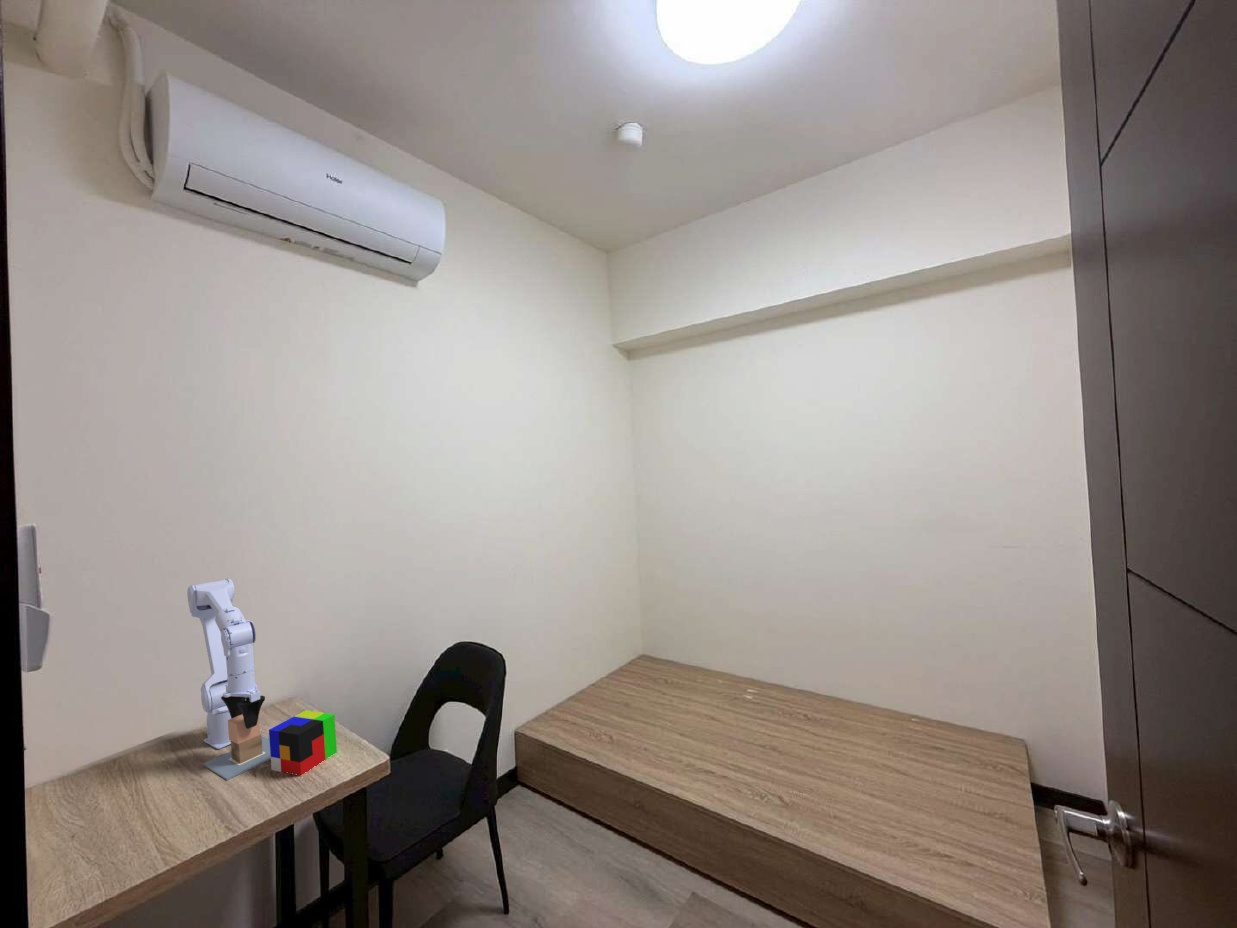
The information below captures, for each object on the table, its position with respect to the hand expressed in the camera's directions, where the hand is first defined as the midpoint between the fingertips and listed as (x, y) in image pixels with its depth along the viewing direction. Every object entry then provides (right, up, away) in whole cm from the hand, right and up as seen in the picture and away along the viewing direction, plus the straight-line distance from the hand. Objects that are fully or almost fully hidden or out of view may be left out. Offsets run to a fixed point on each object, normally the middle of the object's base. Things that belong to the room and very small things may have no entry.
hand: (244, 723), depth 133 cm
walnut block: (+1, -8, 0) cm, 8 cm away
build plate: (+1, -9, 0) cm, 9 cm away
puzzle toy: (+18, -8, -3) cm, 20 cm away
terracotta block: (0, -3, 0) cm, 3 cm away
